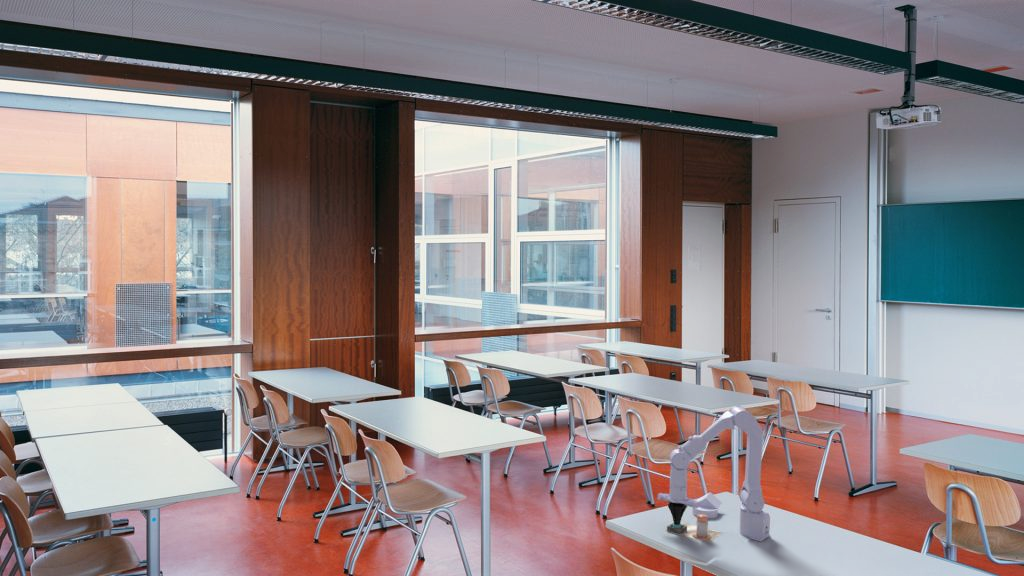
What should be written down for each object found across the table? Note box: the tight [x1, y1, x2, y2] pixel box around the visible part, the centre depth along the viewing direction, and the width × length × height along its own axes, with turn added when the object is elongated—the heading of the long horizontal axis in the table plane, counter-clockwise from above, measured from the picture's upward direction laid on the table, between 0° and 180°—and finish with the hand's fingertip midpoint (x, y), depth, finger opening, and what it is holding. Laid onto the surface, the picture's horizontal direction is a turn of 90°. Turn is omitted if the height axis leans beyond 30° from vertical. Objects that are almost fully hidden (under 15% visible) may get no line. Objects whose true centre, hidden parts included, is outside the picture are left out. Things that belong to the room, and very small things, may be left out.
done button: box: [673, 522, 682, 529], centre depth 273 cm, size 3×3×2 cm
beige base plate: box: [665, 521, 724, 543], centre depth 273 cm, size 18×14×2 cm
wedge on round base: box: [692, 491, 723, 519], centre depth 293 cm, size 9×7×13 cm
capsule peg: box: [696, 514, 709, 538], centre depth 268 cm, size 4×4×7 cm
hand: (677, 524), depth 273 cm, fingers closed, pressing on done button
